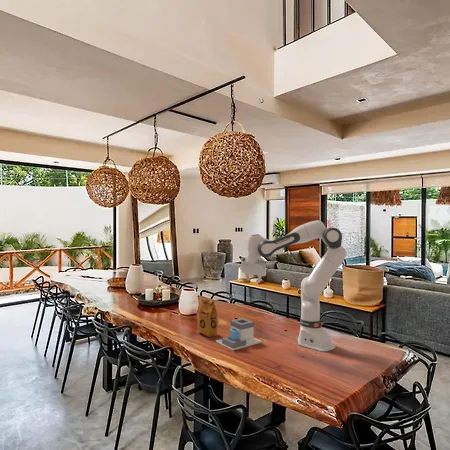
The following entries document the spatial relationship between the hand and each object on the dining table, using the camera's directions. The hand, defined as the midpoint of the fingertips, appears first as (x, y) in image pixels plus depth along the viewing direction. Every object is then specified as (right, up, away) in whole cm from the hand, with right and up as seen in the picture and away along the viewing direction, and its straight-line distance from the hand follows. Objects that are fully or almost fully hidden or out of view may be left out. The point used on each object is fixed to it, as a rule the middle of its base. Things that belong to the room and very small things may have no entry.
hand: (253, 281), depth 218 cm
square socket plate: (-10, -34, -14) cm, 38 cm away
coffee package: (-29, -34, -1) cm, 44 cm away
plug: (-13, -33, -20) cm, 41 cm away
